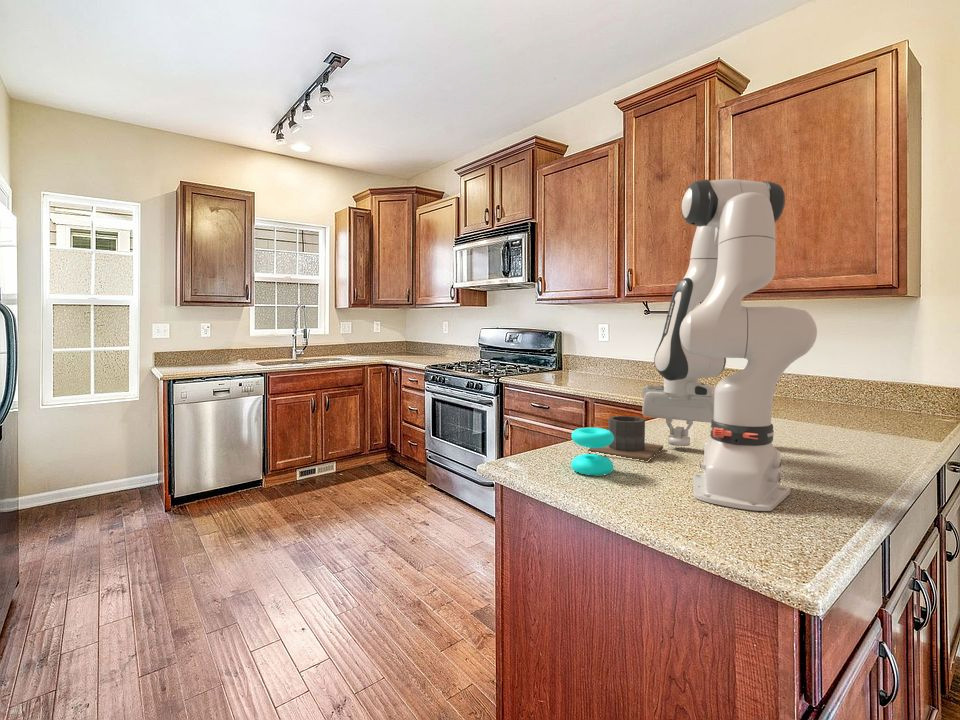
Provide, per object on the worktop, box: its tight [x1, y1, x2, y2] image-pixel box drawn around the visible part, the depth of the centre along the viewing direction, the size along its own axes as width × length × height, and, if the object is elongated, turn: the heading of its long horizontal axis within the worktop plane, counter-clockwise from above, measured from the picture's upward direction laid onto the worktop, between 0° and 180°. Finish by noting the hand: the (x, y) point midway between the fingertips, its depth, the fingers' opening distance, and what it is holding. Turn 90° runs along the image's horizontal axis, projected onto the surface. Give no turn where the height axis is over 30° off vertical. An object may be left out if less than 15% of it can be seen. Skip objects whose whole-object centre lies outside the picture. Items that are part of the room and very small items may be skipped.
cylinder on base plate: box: [587, 415, 664, 462], centre depth 138 cm, size 16×16×9 cm
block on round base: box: [667, 425, 691, 447], centre depth 141 cm, size 6×6×5 cm
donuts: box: [570, 426, 614, 476], centre depth 120 cm, size 10×10×10 cm
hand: (679, 435), depth 141 cm, fingers closed on block on round base
